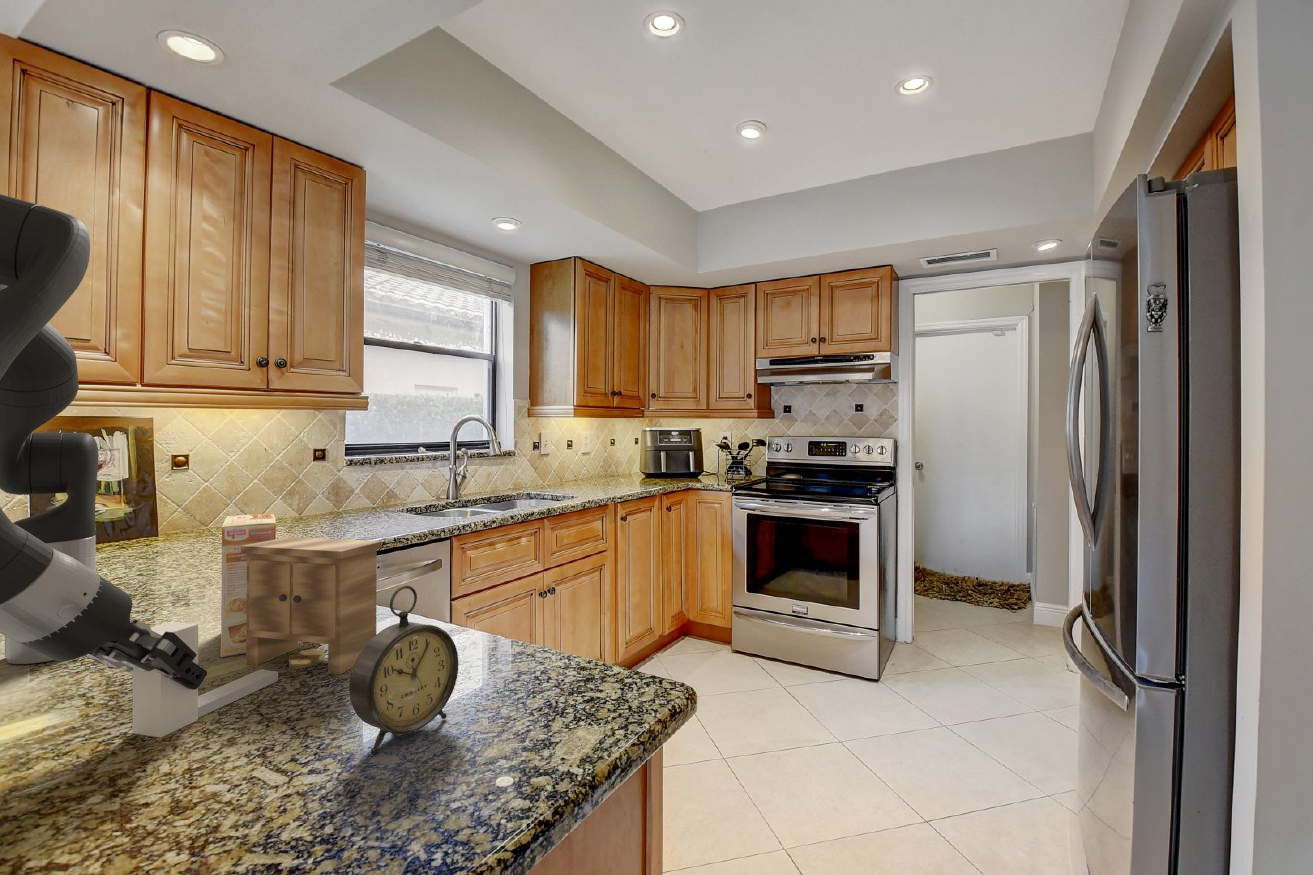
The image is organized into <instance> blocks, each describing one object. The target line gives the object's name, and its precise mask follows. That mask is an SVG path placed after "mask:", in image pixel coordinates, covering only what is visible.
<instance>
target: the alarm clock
mask: <svg viewBox="0 0 1313 875" xmlns="http://www.w3.org/2000/svg"><path fill="white" fill-rule="evenodd" d="M404 589H405V590H406V589H408V590H410V591H411V592H412V594H413V598H414V599H413V603H412V606H410V608H409V610H408V611H407V610H401V611H399V613H397V612H396V611H395V609H394V606H393V605H394V600H395V598H396V595H397V594H398V593H399V592H401V591H402V590H404ZM417 600H418V594H417V591H416V589H415V588H414V587H412V586H411V585H402V586H400V587H399V588H397V589H396V590H395V591H394V592H393V594H392V595H391V597H390V601H389V609H390V612H391V613H392V614H394V616H396V617H398V618H399V623H397V622H396V623H394V624H392V625H389V626H387V627H385V628H384V629H382V630H380V631H379V632H378V633H376V635H375V636H374V637H373V638H372V639H371V640H370V641H369V642H368V643H367V644H366V646H365V647H364V648H363V650H362V651H361V653H360V654H359V656H358V658H357V660H356V662H355V664H354V667H353V668H352V669H351V674H350V679H349V698H350V704H351V706H352V709H353V711H354V713H355V714H356V716H357V717H358V718H360V720H361V721H362V722H364V723H365V724H367V725H369V726H372V727H373V728H374V727H375V728H376V729H379V732H378V734H377V736H376V739H375V742H374V746H373V747H372V748H371V750H370V753H371V754H372V755H376V754H377V753H378V748H379V746H380V745H381V744H382V742H383V741H384V738H385V736H386V734H389V733H390V734H394V735H406V734H410V733H414V732H416V731H418V730H421V729H422V728H424V727H425V726H427V725H428V724H430V723H431V722H433V720H434V719H436V718H437V716H440V717H441V720H446V719H447V713H446V712H444V711H443V709H444V708H445V706H446V705H447V703H448V702H449V699H450V698H451V696H452V695H453V692H454V689H455V687H456V684H457V679H458V673H459V654H458V649H457V646H456V644H455V642H454V640H453V638H452V637H451V635H450V634H449V633H448V632H447V631H445V630H444V629H443V628H441V627H439V626H436V625H433V624H423V623H419V622H414V621H413V622H411V621H409V619H408V616H409V614H410V613H411V612H413V610H414V609H415V607H416V606H417V605H416V604H417Z"/></svg>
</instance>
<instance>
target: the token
mask: <svg viewBox="0 0 1313 875" xmlns="http://www.w3.org/2000/svg"><path fill="white" fill-rule="evenodd" d="M323 661H324V662H325V650H323V649H319V648H313V649H306V650H305V649H303V650H300V651H297V652H295V653H292V654H290V655H289V656H288V667H289V668H291V669H296V670H299V669H307V668H313V667H316V666H318V664H319V665H321V664H322V663H324V662H323ZM320 663H321V664H320Z"/></svg>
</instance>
